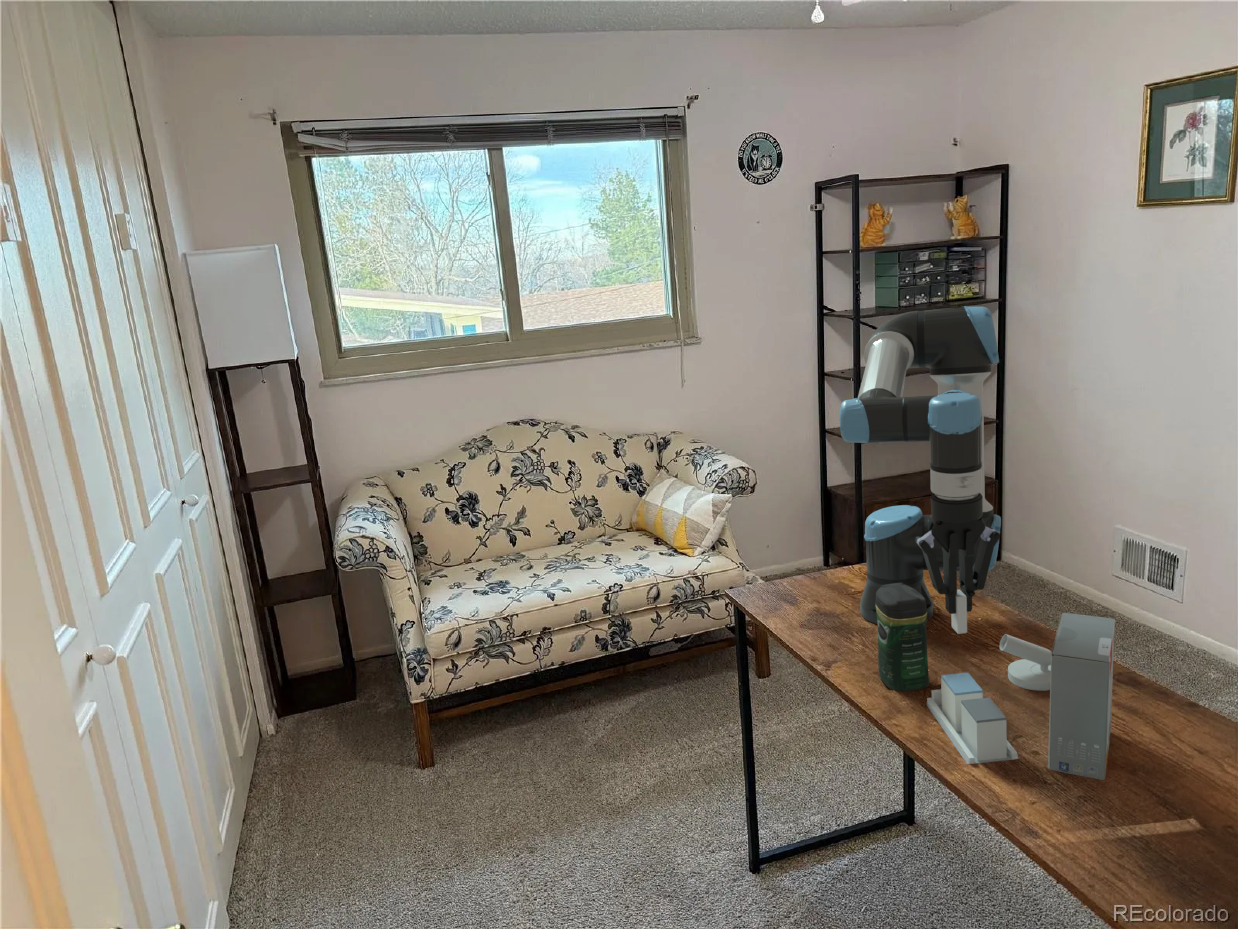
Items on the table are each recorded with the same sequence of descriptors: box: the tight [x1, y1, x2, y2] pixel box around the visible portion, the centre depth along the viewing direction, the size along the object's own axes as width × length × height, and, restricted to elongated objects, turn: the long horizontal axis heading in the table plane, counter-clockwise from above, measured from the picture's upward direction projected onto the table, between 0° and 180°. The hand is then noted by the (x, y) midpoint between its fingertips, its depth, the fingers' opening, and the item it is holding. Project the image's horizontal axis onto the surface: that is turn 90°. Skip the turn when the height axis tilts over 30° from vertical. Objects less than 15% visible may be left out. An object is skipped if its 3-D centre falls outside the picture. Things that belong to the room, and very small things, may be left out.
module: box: [940, 671, 984, 732], centre depth 140 cm, size 6×4×7 cm
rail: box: [925, 688, 1020, 765], centre depth 138 cm, size 18×8×3 cm, turn 0°
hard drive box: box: [1047, 612, 1116, 781], centre depth 129 cm, size 16×8×20 cm, turn 148°
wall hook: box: [999, 633, 1052, 692], centre depth 150 cm, size 9×10×10 cm
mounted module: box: [961, 697, 1008, 761], centre depth 132 cm, size 6×4×7 cm
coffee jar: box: [875, 583, 930, 692], centre depth 155 cm, size 10×8×19 cm
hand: (959, 629), depth 138 cm, fingers closed
